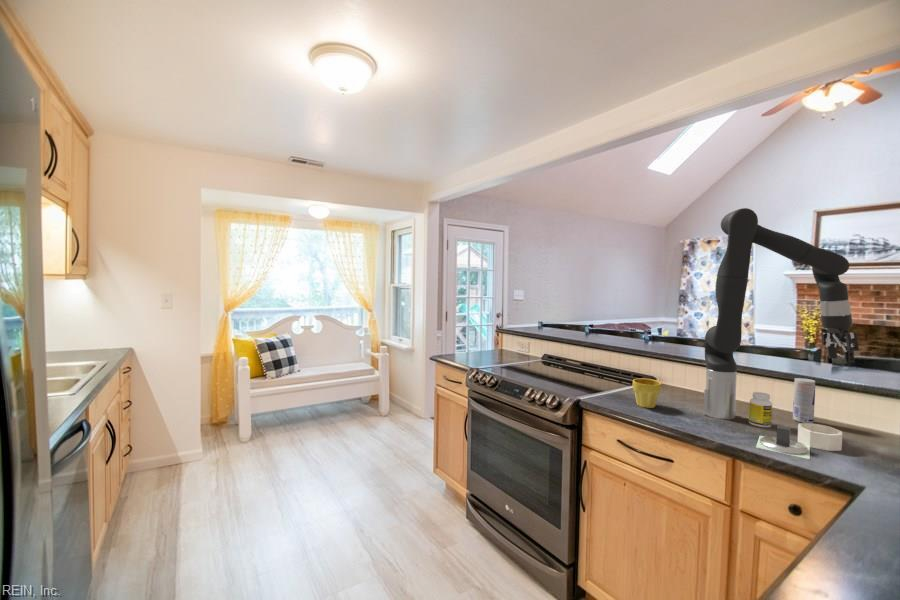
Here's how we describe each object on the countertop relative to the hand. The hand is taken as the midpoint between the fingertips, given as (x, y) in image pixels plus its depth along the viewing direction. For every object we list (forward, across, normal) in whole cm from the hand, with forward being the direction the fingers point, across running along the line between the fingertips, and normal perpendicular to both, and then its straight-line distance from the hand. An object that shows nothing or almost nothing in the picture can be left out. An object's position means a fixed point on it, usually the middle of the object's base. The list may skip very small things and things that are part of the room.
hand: (841, 360), depth 137 cm
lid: (+19, +26, -31) cm, 44 cm away
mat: (+19, +26, -31) cm, 45 cm away
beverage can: (+22, -2, -12) cm, 25 cm away
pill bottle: (+19, +6, -28) cm, 35 cm away
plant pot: (+15, -8, -62) cm, 64 cm away
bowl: (+20, +21, -19) cm, 35 cm away
